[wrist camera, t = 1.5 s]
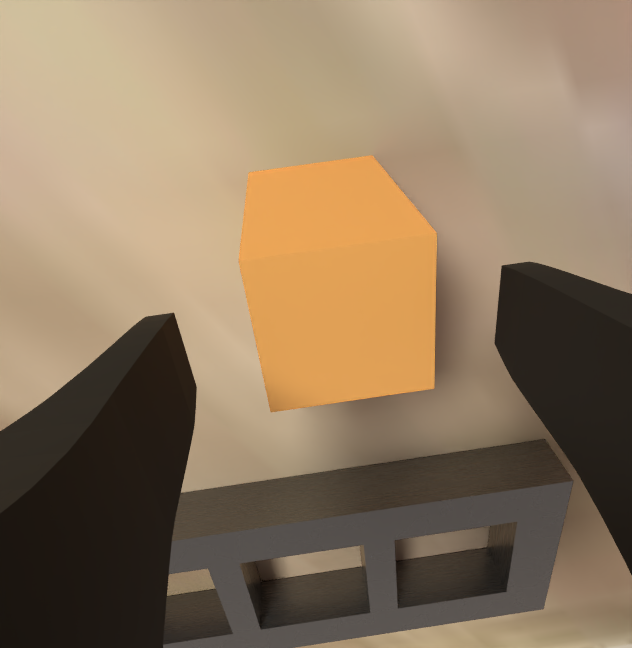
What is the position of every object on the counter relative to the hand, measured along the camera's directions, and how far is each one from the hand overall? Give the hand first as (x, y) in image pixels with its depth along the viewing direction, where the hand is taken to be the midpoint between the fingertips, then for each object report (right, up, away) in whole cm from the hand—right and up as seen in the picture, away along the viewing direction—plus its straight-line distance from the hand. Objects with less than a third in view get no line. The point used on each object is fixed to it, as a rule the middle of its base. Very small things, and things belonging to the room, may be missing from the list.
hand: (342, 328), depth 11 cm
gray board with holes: (-1, -11, +15) cm, 19 cm away
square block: (-1, +4, +6) cm, 7 cm away
